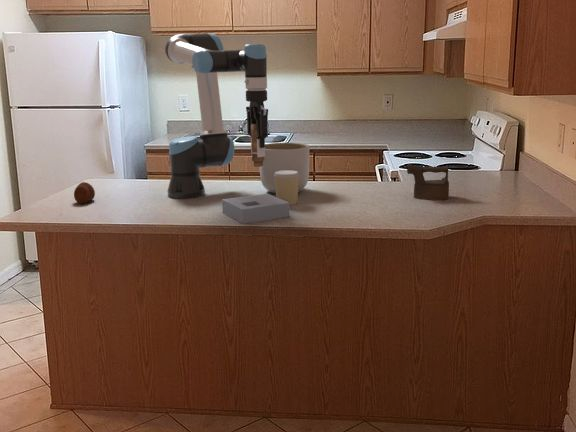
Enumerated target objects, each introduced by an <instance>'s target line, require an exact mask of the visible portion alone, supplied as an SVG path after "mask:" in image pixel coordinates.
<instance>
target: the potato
mask: <svg viewBox="0 0 576 432" xmlns="http://www.w3.org/2000/svg"><path fill="white" fill-rule="evenodd" d="M73 191H74V192H73V196H74V197H73V198H74V200H75V201H76V203H78V204H79V205H84V204H87V203H88V202H91V201H93V200H94V198H95V197H96V191H95V188H94V187H93V185H92V184H90V183H88V182H86V181H85V182H83V181H82V182H80V183H79V184H78V185H77V186H76V187H75V189H74V190H73Z"/></svg>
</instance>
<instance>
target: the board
mask: <svg viewBox="0 0 576 432" xmlns="http://www.w3.org/2000/svg"><path fill="white" fill-rule="evenodd" d="M221 203H222V205H221V206H222V207H221V208H222V214H223V215H226V216H228V217H229V218H231V219H234V220H235V221H237V222H239V223H240V224H243V225H244V224H250V223H257V222H265V221H270V220H276V218H277V219H283V218H282V217H284V218H289V217H288V216H290V217H291V215H290V205H289V202H286V201H284V200H281V199H279V198H277V197H276V196H274V195H272V194H270V193H260V194H254V195H253V194H252V195H246V196H239V197H230V198H224V199H223V198H222V199H221Z"/></svg>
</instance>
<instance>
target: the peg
mask: <svg viewBox="0 0 576 432" xmlns="http://www.w3.org/2000/svg"><path fill="white" fill-rule="evenodd" d="M257 137H258V132H257V124H251V137H250V140H251V139H252V155H251V161H252V162H253V167H255V168H260V167H261V166H263V161H264V157H257V139H256V138H257Z"/></svg>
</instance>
